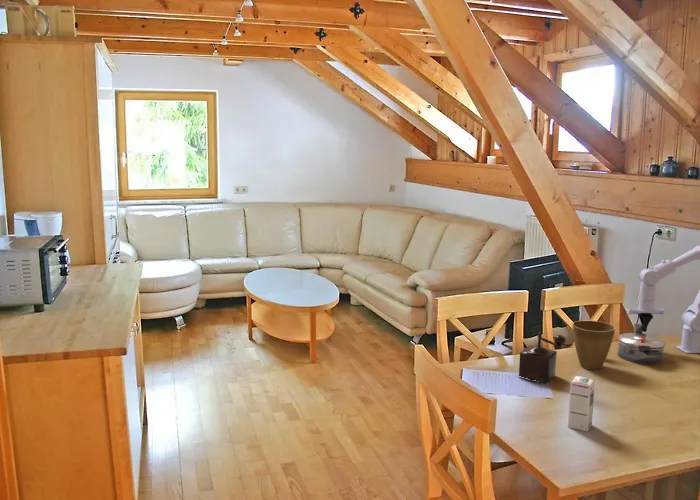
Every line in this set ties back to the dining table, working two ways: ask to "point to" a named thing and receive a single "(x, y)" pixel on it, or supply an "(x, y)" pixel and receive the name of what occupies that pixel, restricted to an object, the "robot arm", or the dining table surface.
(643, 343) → the lid
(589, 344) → the plant pot
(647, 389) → the dining table surface
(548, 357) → the manual coffee grinder
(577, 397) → the syrup box
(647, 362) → the clear plastic food container
